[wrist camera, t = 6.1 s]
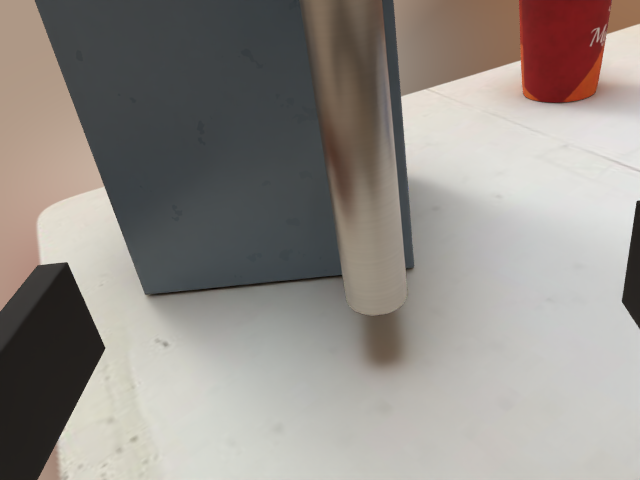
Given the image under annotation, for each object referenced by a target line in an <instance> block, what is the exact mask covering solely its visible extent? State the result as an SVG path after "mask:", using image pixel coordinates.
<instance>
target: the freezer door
mask: <svg viewBox="0 0 640 480" xmlns="http://www.w3.org/2000/svg"><path fill="white" fill-rule="evenodd" d="M35 2H36V5H37V8H38V10H39V13H40V15H41V18H42V21H43V24H44V26H45V29H46V32H47V34H48V37H49V39H50V42H51V45H52V48H53V50H54V53H55V56H56V58H57V61H58V64H59V66H60V69H61V72H62V74H63V77H64V80H65V82H66V85H67V88H68V90H69V93H70V96H71V98H72V101H73V103H74V106H75V109H76V111H77V114H78V117H79V119H80V122H81V125H82V127H83V130H84V133H85V135H86V138H87V141H88V143H89V146H90V149H91V151H92V154H93V156H94V159H95V162H96V165H97V167H98V170H99V173H100V175H101V178H102V181H103V183H104V186H105V189H106V191H107V194H108V197H109V199H110V202H111V205H112V207H113V210H114V213H115V215H116V218H117V221H118V223H119V226H120V229H121V231H122V234H123V237H124V239H125V242H126V245H127V247H128V250H129V253H130V255H131V258H132V261H133V263H134V266H135V269H136V271H137V274H138V277H139V279H140V282H141V285H142V287H143V290H144V293H145V294H156V293H166V292H176V291H186V290H195V289H205V288H215V287H225V286H235V285H245V284H255V283H265V282H275V281H284V280H294V279H304V278H314V277H324V276H334V275H342V276H343V282H344V288H345V295H346V301H347V303H348V305H349V306H350V308H351V309H353V310H354V311H356V312H358V313H360V314H364V315H372V316H376V315H384V314H388V313H391V312H393V311H395V310H397V309H398V308H400V307H401V306H402V305H403V304H404V303H405V301H406V299H407V296H408V292H407V280H406V269H405V268H413V267H414V257H413V244H412V232H411V219H410V206H409V193H408V181H407V168H406V155H405V143H404V130H403V117H402V105H401V92H400V81H399V80H400V79H399V66H398V54H397V41H396V28H395V16H394V3H393V0H35Z"/></svg>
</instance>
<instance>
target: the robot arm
mask: <svg viewBox="0 0 640 480" xmlns="http://www.w3.org/2000/svg"><path fill="white" fill-rule="evenodd" d="M622 303H623V304H624V306H625V307H626V309H627V310H628V312H629V313H630V315H631V316H632V318H633V319H634V321H635V322H636V324H637V325H638V327H639V329H640V201H637V203H636V209H635V216H634V223H633V230H632V236H631V243H630V250H629V257H628V264H627V270H626V277H625V284H624V291H623V297H622ZM104 350H105V346H104V344H103V342H102V339H101V337H100V335H99V333H98V330H97V328H96V326H95V324H94V321H93V319H92V317H91V315H90V312H89V310H88V308H87V306H86V303H85V301H84V299H83V297H82V294H81V292H80V290H79V288H78V285H77V283H76V281H75V279H74V276H73V274H72V272H71V270H70V267H69V265H68V263H67V262H65V263H56V264H47V265H38V266H37V267H36V268H35V269H34V271H33V272H32V273H31V274H30V275H29V277H28V278H27V279H26V280H25V282H24V283H23V284H22V285H21V287H20V288H19V289H18V290H17V292H16V293H15V294H14V296H13V297H12V298H11V299H10V300H9V302H8V303H7V304H6V305H5V307H4V308H3V309H2V310H1V311H0V480H37V479H38V477H39V476H40V474H41V472H42V470H43V468H44V466H45V464H46V462H47V460H48V458H49V456H50V454H51V452H52V451H53V449H54V447H55V445H56V443H57V441H58V439H59V437H60V435H61V433H62V431H63V429H64V427H65V425H66V423H67V422H68V420H69V418H70V416H71V414H72V412H73V410H74V408H75V406H76V404H77V402H78V400H79V398H80V396H81V394H82V393H83V391H84V389H85V387H86V385H87V383H88V381H89V379H90V377H91V375H92V373H93V371H94V369H95V367H96V365H97V364H98V362H99V360H100V358H101V356H102V354H103V352H104Z"/></svg>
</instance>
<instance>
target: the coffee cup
mask: <svg viewBox="0 0 640 480" xmlns="http://www.w3.org/2000/svg"><path fill="white" fill-rule="evenodd" d="M611 3H612V0H519V10H520V44H521V71H522V87H523V94H524V96H526V97H527V98H529V99H532V100H535V101H540V102H552V103H559V102H571V101H577V100H581V99H585V98H587V97H590V96H592V95H593V94H594V93H595V92H596V89H597V85H598V80H599V75H600V69H601V64H602V58H603V52H604V46H605V40H606V33H607V27H608V21H609V15H610V9H611Z"/></svg>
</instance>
